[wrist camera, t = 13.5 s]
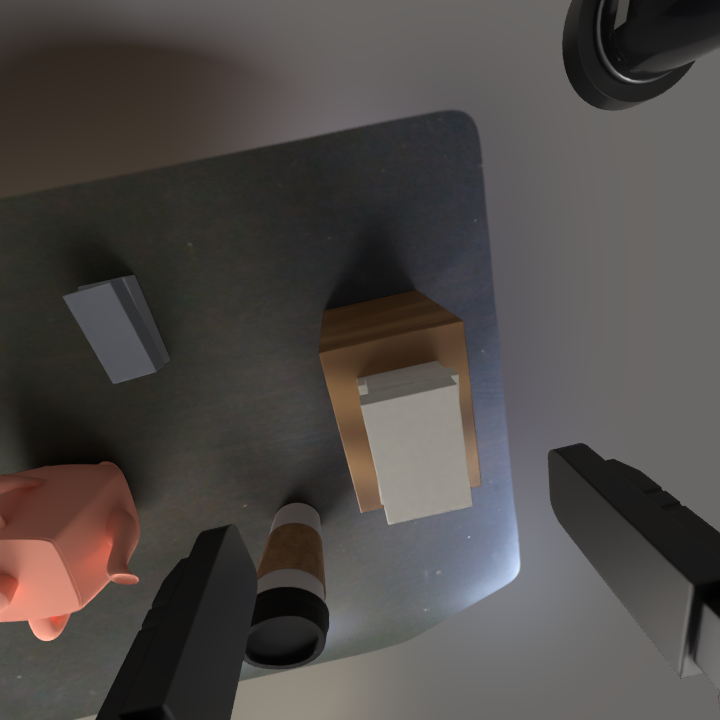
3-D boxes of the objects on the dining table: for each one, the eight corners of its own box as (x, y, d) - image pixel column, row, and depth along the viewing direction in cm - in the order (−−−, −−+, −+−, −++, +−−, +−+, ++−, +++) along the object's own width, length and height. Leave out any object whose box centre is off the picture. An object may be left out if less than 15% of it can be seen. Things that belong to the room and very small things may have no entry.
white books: (351, 373, 24) (354, 389, 22) (444, 352, 24) (458, 366, 22) (378, 484, 28) (382, 510, 25) (459, 466, 28) (473, 490, 25)
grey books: (88, 284, 34) (59, 290, 31) (139, 273, 34) (115, 278, 31) (129, 370, 38) (106, 386, 34) (175, 360, 38) (158, 374, 34)
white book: (358, 395, 22) (360, 405, 21) (450, 375, 22) (457, 383, 21) (385, 509, 25) (388, 525, 24) (465, 492, 25) (472, 506, 24)
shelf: (323, 310, 37) (318, 352, 24) (416, 289, 37) (463, 320, 24) (351, 425, 42) (361, 513, 29) (434, 406, 42) (482, 486, 29)
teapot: (-8, 506, 42) (-151, 620, 29) (54, 411, 38) (-78, 496, 26) (125, 567, 46) (50, 688, 34) (191, 487, 43) (134, 590, 31)
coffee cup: (275, 486, 44) (249, 606, 30) (339, 504, 45) (343, 626, 31) (255, 537, 46) (222, 670, 32) (316, 552, 48) (310, 685, 34)
